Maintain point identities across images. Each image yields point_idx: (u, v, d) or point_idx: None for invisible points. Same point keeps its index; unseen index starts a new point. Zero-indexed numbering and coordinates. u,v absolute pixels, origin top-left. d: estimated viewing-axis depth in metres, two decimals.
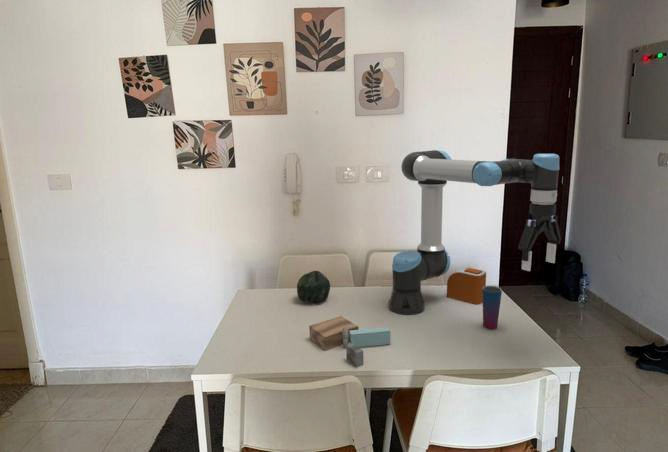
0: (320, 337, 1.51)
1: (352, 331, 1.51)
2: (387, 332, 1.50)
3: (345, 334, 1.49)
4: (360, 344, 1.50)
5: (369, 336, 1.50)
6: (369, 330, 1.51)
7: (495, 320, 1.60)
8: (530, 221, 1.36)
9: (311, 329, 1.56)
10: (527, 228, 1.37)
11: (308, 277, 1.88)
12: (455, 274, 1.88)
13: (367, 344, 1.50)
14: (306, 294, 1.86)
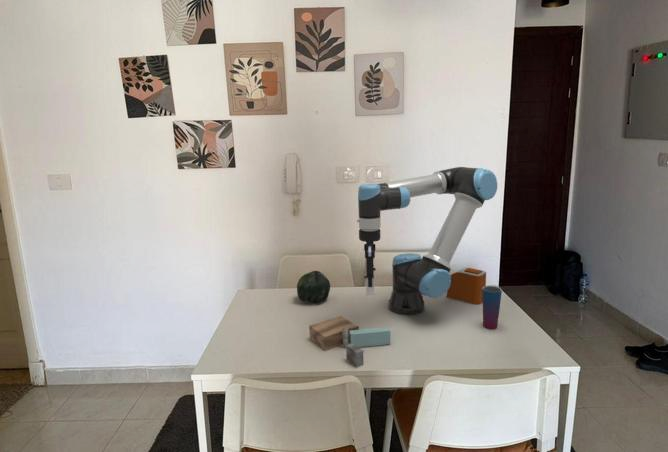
0: (320, 337, 1.51)
1: (352, 331, 1.51)
2: (387, 332, 1.50)
3: (345, 334, 1.49)
4: (360, 344, 1.50)
5: (369, 336, 1.50)
6: (369, 330, 1.51)
7: (495, 320, 1.60)
8: None
9: (311, 329, 1.56)
10: None
11: (308, 277, 1.88)
12: (455, 274, 1.88)
13: (367, 344, 1.50)
14: (306, 294, 1.86)
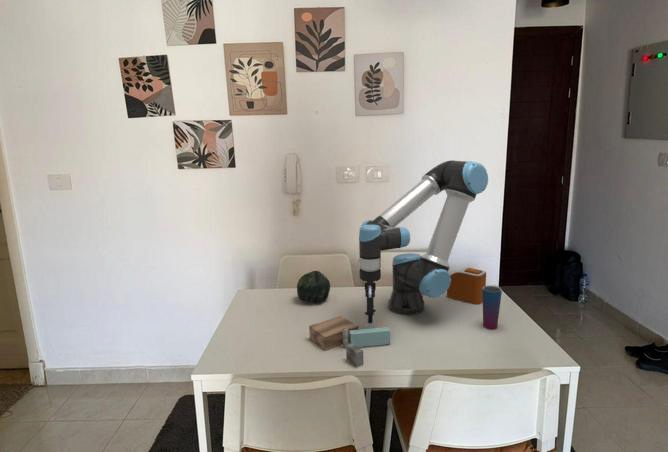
0: (320, 337, 1.51)
1: (352, 331, 1.51)
2: (387, 332, 1.50)
3: (345, 334, 1.49)
4: (360, 344, 1.50)
5: (369, 336, 1.50)
6: (369, 330, 1.51)
7: (495, 320, 1.60)
8: None
9: (311, 329, 1.56)
10: None
11: (308, 277, 1.88)
12: (455, 274, 1.88)
13: (367, 344, 1.50)
14: (306, 294, 1.86)
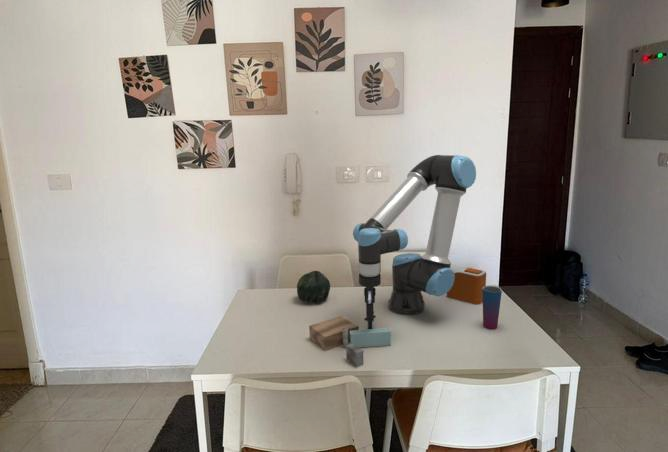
0: (320, 337, 1.51)
1: (352, 331, 1.51)
2: (387, 333, 1.50)
3: (345, 334, 1.49)
4: (360, 344, 1.50)
5: (369, 337, 1.49)
6: (369, 330, 1.51)
7: (495, 320, 1.60)
8: None
9: (311, 329, 1.56)
10: None
11: (308, 277, 1.88)
12: (455, 274, 1.88)
13: (367, 344, 1.50)
14: (306, 294, 1.86)
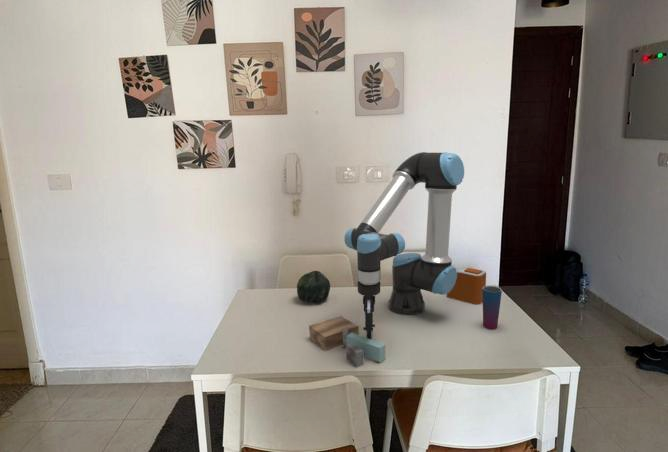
0: (320, 337, 1.51)
1: (352, 334, 1.48)
2: (377, 349, 1.39)
3: (345, 334, 1.49)
4: None
5: (361, 345, 1.44)
6: (365, 339, 1.44)
7: (495, 320, 1.60)
8: None
9: (311, 329, 1.56)
10: None
11: (308, 277, 1.88)
12: None
13: None
14: (306, 294, 1.86)
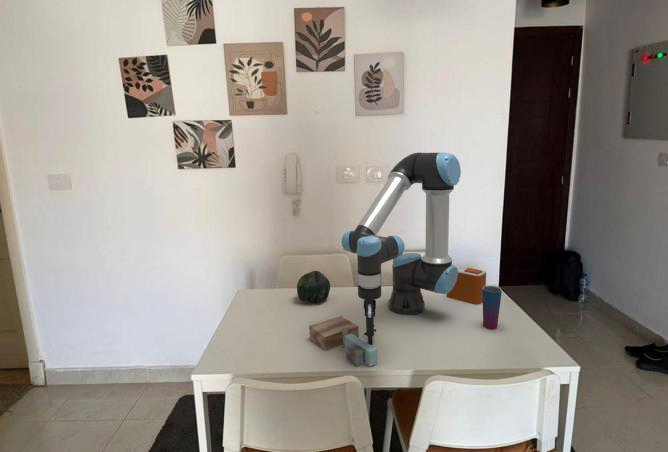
0: (320, 337, 1.51)
1: (351, 335, 1.48)
2: (368, 352, 1.37)
3: (345, 334, 1.49)
4: None
5: None
6: (360, 342, 1.43)
7: (495, 320, 1.60)
8: None
9: (311, 329, 1.56)
10: None
11: (308, 277, 1.88)
12: None
13: None
14: (306, 294, 1.86)
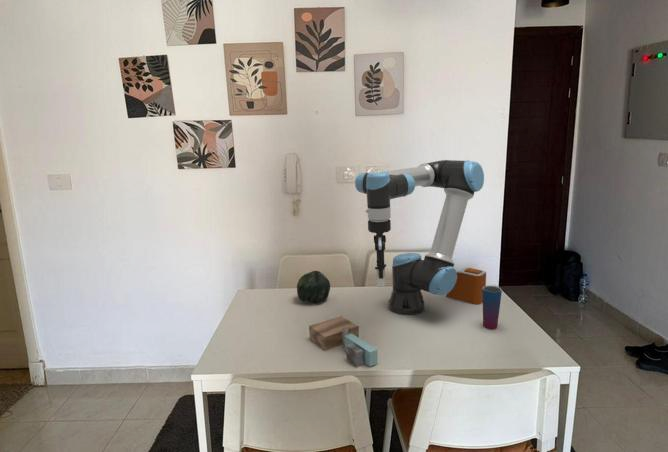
0: (320, 337, 1.51)
1: (351, 335, 1.48)
2: (368, 352, 1.37)
3: (345, 334, 1.49)
4: None
5: None
6: (360, 342, 1.43)
7: (495, 320, 1.60)
8: None
9: (311, 329, 1.56)
10: None
11: (308, 277, 1.88)
12: None
13: None
14: (306, 294, 1.86)
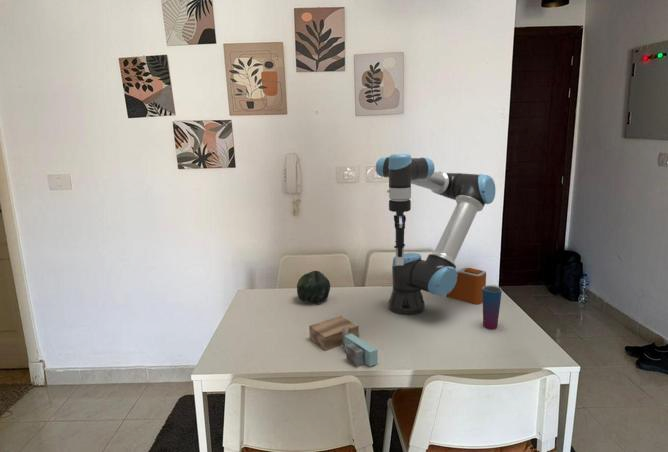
0: (320, 337, 1.51)
1: (351, 335, 1.48)
2: (368, 352, 1.37)
3: (345, 334, 1.49)
4: None
5: None
6: (360, 342, 1.43)
7: (495, 320, 1.60)
8: None
9: (311, 329, 1.56)
10: None
11: (308, 277, 1.88)
12: None
13: None
14: (306, 294, 1.86)
